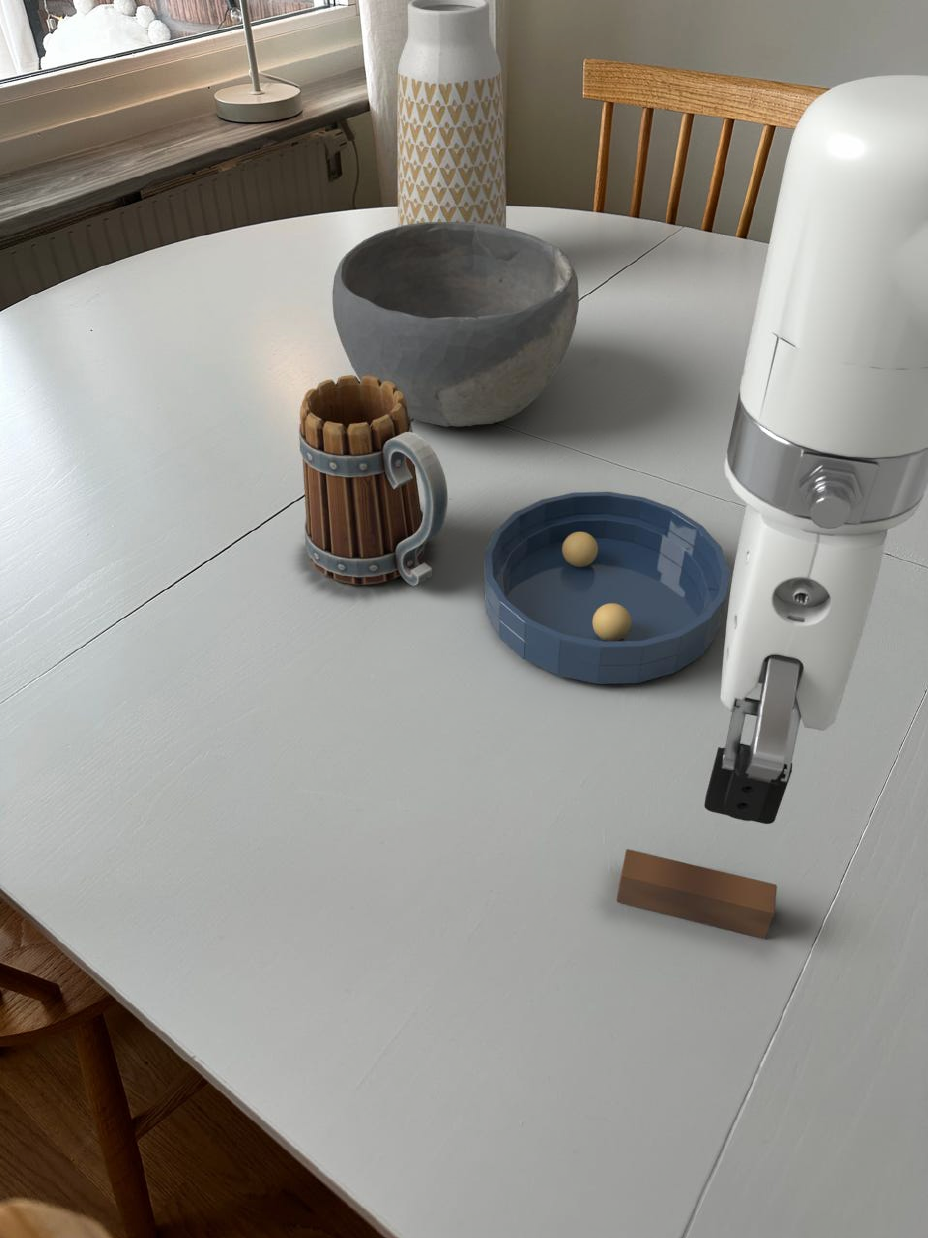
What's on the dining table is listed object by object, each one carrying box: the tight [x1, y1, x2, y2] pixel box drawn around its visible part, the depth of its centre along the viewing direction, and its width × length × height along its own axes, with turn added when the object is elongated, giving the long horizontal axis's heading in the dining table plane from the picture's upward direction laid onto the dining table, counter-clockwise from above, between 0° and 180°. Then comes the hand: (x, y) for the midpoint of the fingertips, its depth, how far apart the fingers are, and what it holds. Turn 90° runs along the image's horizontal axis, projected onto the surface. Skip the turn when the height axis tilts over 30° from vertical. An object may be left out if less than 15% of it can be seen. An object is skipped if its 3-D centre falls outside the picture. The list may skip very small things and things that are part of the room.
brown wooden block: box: [616, 848, 778, 939], centre depth 59 cm, size 9×2×3 cm, turn 73°
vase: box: [396, 0, 507, 228], centre depth 118 cm, size 14×14×31 cm
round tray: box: [483, 491, 731, 685], centre depth 79 cm, size 19×19×4 cm
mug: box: [298, 374, 449, 586], centre depth 80 cm, size 16×11×15 cm
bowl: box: [332, 222, 580, 428], centre depth 100 cm, size 24×24×15 cm
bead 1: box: [562, 532, 598, 567], centre depth 83 cm, size 3×3×3 cm
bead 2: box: [593, 603, 631, 642], centre depth 76 cm, size 3×3×3 cm
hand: (747, 736), depth 49 cm, fingers open, 9 cm apart
